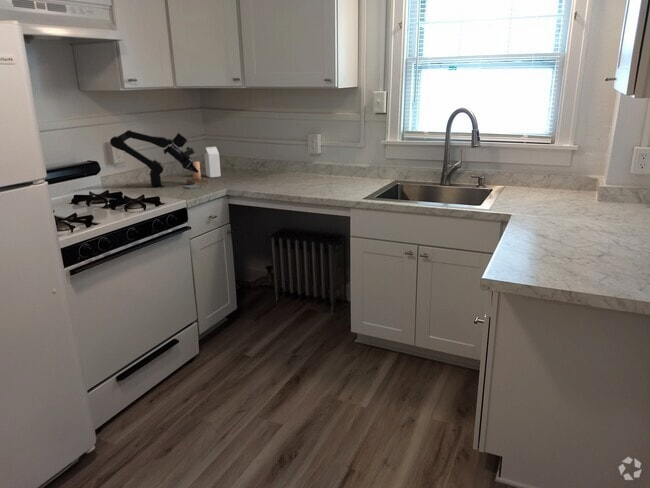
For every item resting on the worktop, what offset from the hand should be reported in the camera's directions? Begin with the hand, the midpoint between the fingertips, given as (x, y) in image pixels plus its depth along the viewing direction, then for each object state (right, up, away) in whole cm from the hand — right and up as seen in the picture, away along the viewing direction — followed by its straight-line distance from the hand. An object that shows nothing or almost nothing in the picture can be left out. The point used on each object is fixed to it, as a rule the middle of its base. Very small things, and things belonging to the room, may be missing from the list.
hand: (197, 170), depth 298 cm
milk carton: (+4, 0, +26) cm, 27 cm away
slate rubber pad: (-1, -11, -9) cm, 14 cm away
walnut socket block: (-1, -7, +2) cm, 8 cm away
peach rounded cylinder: (-1, -7, +2) cm, 8 cm away
